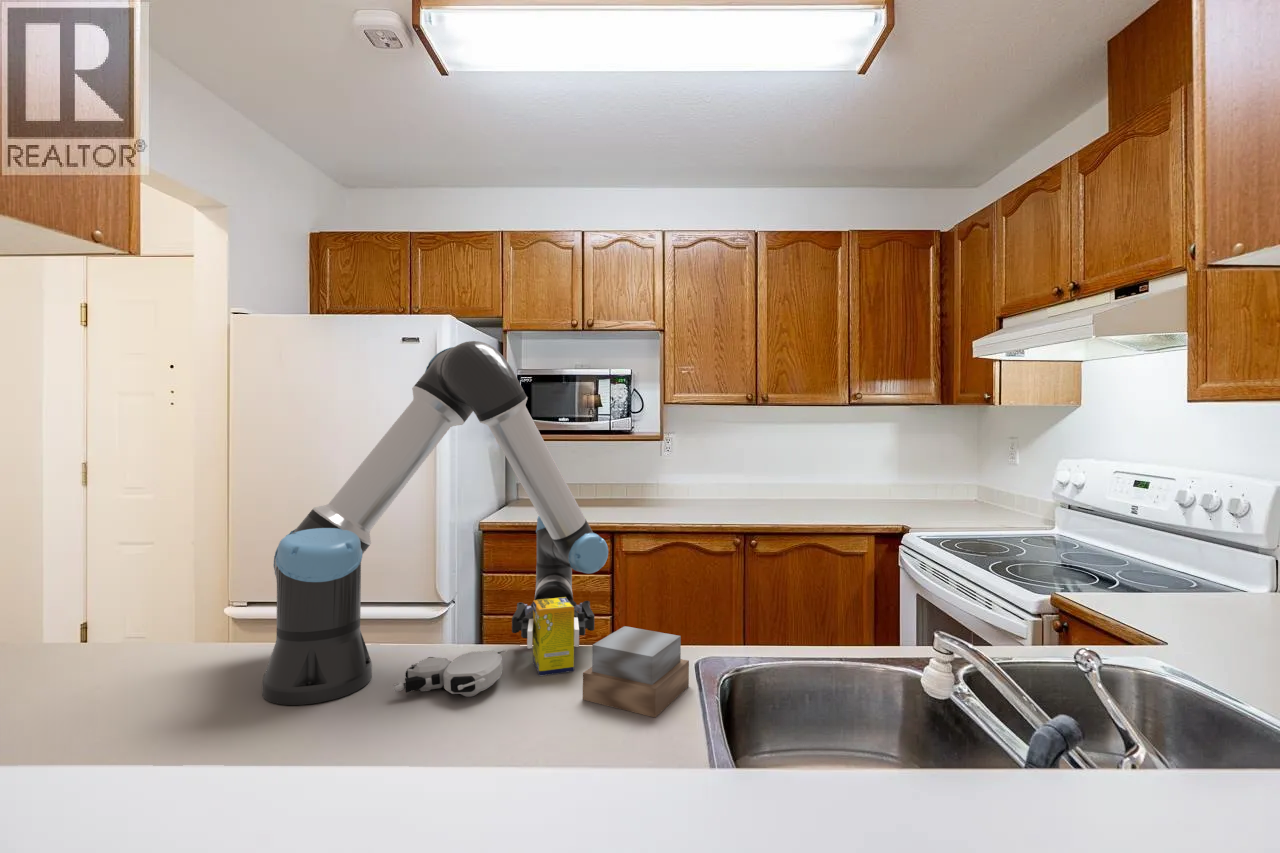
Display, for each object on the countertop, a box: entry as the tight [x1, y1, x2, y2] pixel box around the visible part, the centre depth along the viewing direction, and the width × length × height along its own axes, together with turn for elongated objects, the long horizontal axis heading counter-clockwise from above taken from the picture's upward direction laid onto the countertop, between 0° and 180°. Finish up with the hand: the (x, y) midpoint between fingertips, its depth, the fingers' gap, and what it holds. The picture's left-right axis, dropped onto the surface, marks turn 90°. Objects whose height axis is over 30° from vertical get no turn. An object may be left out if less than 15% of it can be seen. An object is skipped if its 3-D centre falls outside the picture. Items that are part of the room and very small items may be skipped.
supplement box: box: [532, 597, 575, 677], centre depth 104 cm, size 6×6×11 cm
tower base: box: [582, 625, 690, 718], centre depth 95 cm, size 12×12×8 cm
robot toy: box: [392, 649, 508, 698], centre depth 96 cm, size 12×4×15 cm
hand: (553, 638), depth 99 cm, fingers closed on supplement box, 7 cm apart
